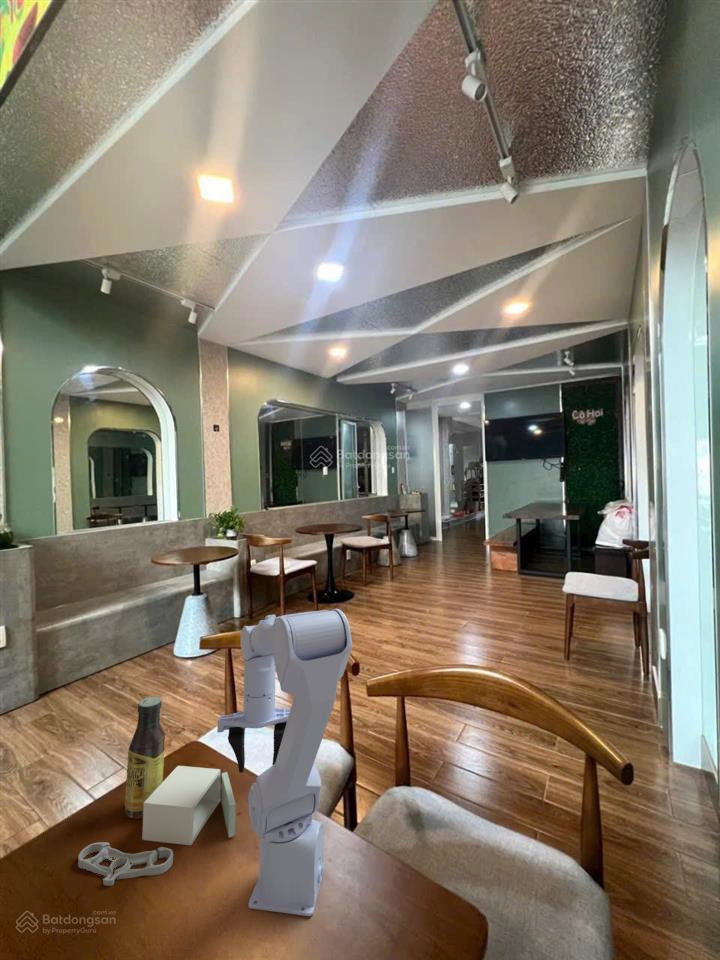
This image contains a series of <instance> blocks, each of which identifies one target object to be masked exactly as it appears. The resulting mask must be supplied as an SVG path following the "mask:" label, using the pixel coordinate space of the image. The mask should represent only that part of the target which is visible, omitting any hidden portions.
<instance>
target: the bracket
mask: <svg viewBox="0 0 720 960" xmlns="http://www.w3.org/2000/svg"><path fill="white" fill-rule="evenodd" d="M97 851H98V852H97ZM93 852H95V853H97V854H96V855H94V856H93V857H90V858H86V857H87V856H86V855H88V854H89V855H91V854H90V853H92V854H94V853H93ZM89 855H88V856H89ZM85 856H86V857H85ZM77 857H78V861H77V862H78V863H77V865H78V868H79V869H82V868H83V870H84V869H86V870H85V871H90V872H92V873H94V874H95V873H98V874H101V875H104V876H107V877H104V876H103V877H104V878H102V882H103V885H104V886H106V887H108V886H109V887H111V886H114V884H115V882H116V879H117V881H118V880H121V879H122V880H123V879H133V878H139V877H142V876H143V877H144V876H149V877H150V876H158V875H159V876H160V875H162V874H164V873H165V872H167V871H168V870H169V869H170V868H172V865H173V862H174V851H173V849H171V848H169V847H163V846H160V847H158V848H157V849H153V850H150V851H149V850H148V851H147V850H145V851H141V852H138V853H137V852H136V853H127V852H123V851H120V850H118V849H117V848H114V847H113V848H112V847H111V845H110V842H106V841H105V842H104V841H102V842H94V843H91V844H89V845H87V846H85V847H84V848H83V849H82V850H81V851H80V852H79V854H78V856H77ZM84 857H85V858H84ZM110 857H111V858H110ZM112 857H114V859H115V858H116V859H115V860H112ZM83 858H84V859H83ZM163 858H166V861H165V862H162V863H160V864H154V863H156V862H157V861H158V859H163ZM105 859H108V860H107V861H109V860H110V861H112V862H110V861H109V862H110V864H109V866H105V865H101V863H102V862H104V861H103V860H105ZM105 861H106V860H105ZM100 862H101V863H100ZM130 862H131V863H132V864H130ZM99 863H100V864H99ZM123 864H124V865H123ZM144 864H146V866H144V867H143V868H132V867H134V865H135V866H139V865H144ZM120 865H122V866H120ZM117 866H119V868H118V867H117ZM116 867H117V869H116ZM114 868H115V869H114ZM113 869H114V870H113ZM113 872H114V873H113ZM98 874H97V875H98ZM101 875H100V876H101Z"/></svg>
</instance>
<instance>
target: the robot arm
mask: <svg viewBox="0 0 720 960" xmlns="http://www.w3.org/2000/svg"><path fill="white" fill-rule="evenodd" d="M352 639H353V638H352V632H351V626H350V622H349V620H348V618H347V616H346V615H345V613H344V612H343V611H342V610H341V609H339V608H333V609H331V610H327V609H324V610H315V611H314V610H313V611H304V612H297V613H291V614H285V615H280V616H276V614H269V615H266V616H265V617H264V619H262V620H259V621H258V624H257V625H250V626H249V625H243V628H242V629H241V632H240V650H241V655H242V658H243V659H244V665H243V667H244V668H243V669H244V670H243V708H242V709H243V710H241V711H238V712H234V713H231V714H226V715H220V716H219V717H218V718H217V727H216V728H217V733H223V732H225V731H226V730H227V731H228V736H227V741H228V744H229V745H230V746H231V748H232V751H233V753H234V755H235V758H236V763H237V766H238V773H239V774H240V773H241V774H242V773H244V770H245V759H246V757H245V756H246V755H245V754H246V753H245V737H246V736H245V733H246V732H245V731H246V729H262V728H265V727H270V726H274V727H273V754H272V755H273V756H272V765H271V766H270V767H268V768H267V769H266V770H264V771H263V772H262V773H261V774H260V775H258V776H257V777H256V780H255V782H253V783H252V784H251V787H250V789H249V792H248V814H249V820H250V825H251V828H252V831H253V832H254V833H255V834H256V835H257V836H258V837H259V855H258V856H259V859H258V860H259V861H258V862H259V863H258V864H259V865H258V868H259V870H258V878H257V882H256V883H255V886H254V888H253V890H252V894H251V896H250V898H249V900H248V902H247V903H248V905H247V906H248V908H249V909H252V910H260V911H269V912H275V913H282V914H283V913H284V914H291V915H298V916H306V917H312V915H313V914H314V911H315V906H316V903H317V899H318V897H319V895H318V894H319V892H320V887H321V883H322V880H323V874H324V871H325V863H324V845H325V844H324V836H325V835H324V824H323V823H322V822H320V821H318V820H315V819H313V814H316V813H317V812H318V809H319V806H320V802H321V801H320V800H321V789H322V780H321V776H320V773H319V770H318V767H317V765H316V763H315V760H316V758H317V755H318V752H319V749H320V747H321V743H322V742H323V738H324V734H325V732H326V729H327V726H328V723H329V720H330V717H331V715H332V712H333V710H334V705H335V702H336V696H337V690H338V685H339V681H340V679H342V677H343V676H344V673H345V670H346V669H347V664H348V662H349V658H350V656H351V653H352V650H353V640H352ZM276 676H277V681H278V682H279V686H280V691H282V692H284V693H286V694H288V695H289V696H290V695H291V696H292V697H293V699H292V703H291V707H290V709H289V708H276Z"/></svg>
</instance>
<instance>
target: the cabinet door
mask: <svg viewBox="0 0 720 960" xmlns="http://www.w3.org/2000/svg"><path fill="white" fill-rule="evenodd" d="M228 773H229V772H228V771H222V772H220V803H221V807H222V808H221V809H222V812H223V816H224V821H225V826H226V831H227V835H228V838H232V837H235V836H236V800H235V797H234V796H235V795H234V793H233V788H232V785H231V781H230V777H229V774H228Z"/></svg>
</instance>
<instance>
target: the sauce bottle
mask: <svg viewBox="0 0 720 960" xmlns="http://www.w3.org/2000/svg"><path fill="white" fill-rule="evenodd" d="M162 701H163V700H162V698H161V697H159V696H148V697H145V698H143V699H141V700H140V701H139V702H138V704H137V713H138V716H137V717H138V719H137V724H136V729H135V731H134V733H133V736H132V739H131V742H130V743H129V746H128V752H127V753H128V755H127V766H126V780H125V782H126V783H125V797H124V806H125V814H126V816H127V817H128V818H131V819H137V820H140V819H143V807H144V802H145V801H146V800H147V799H148V798H149V797H150V795H151V794H152V793H153V792H154V791H155V790H156V789H157V788H158V787H159V786H160V785H161V783H162V782H163V781H164V765H165V752H166V751H165V748H166V747H165V740H166V734H165V730H164V728H163V727H162V725H161V724H160V721H161V718H160V716H161V715H160V714H161V707H162V705H163V704H162Z"/></svg>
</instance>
